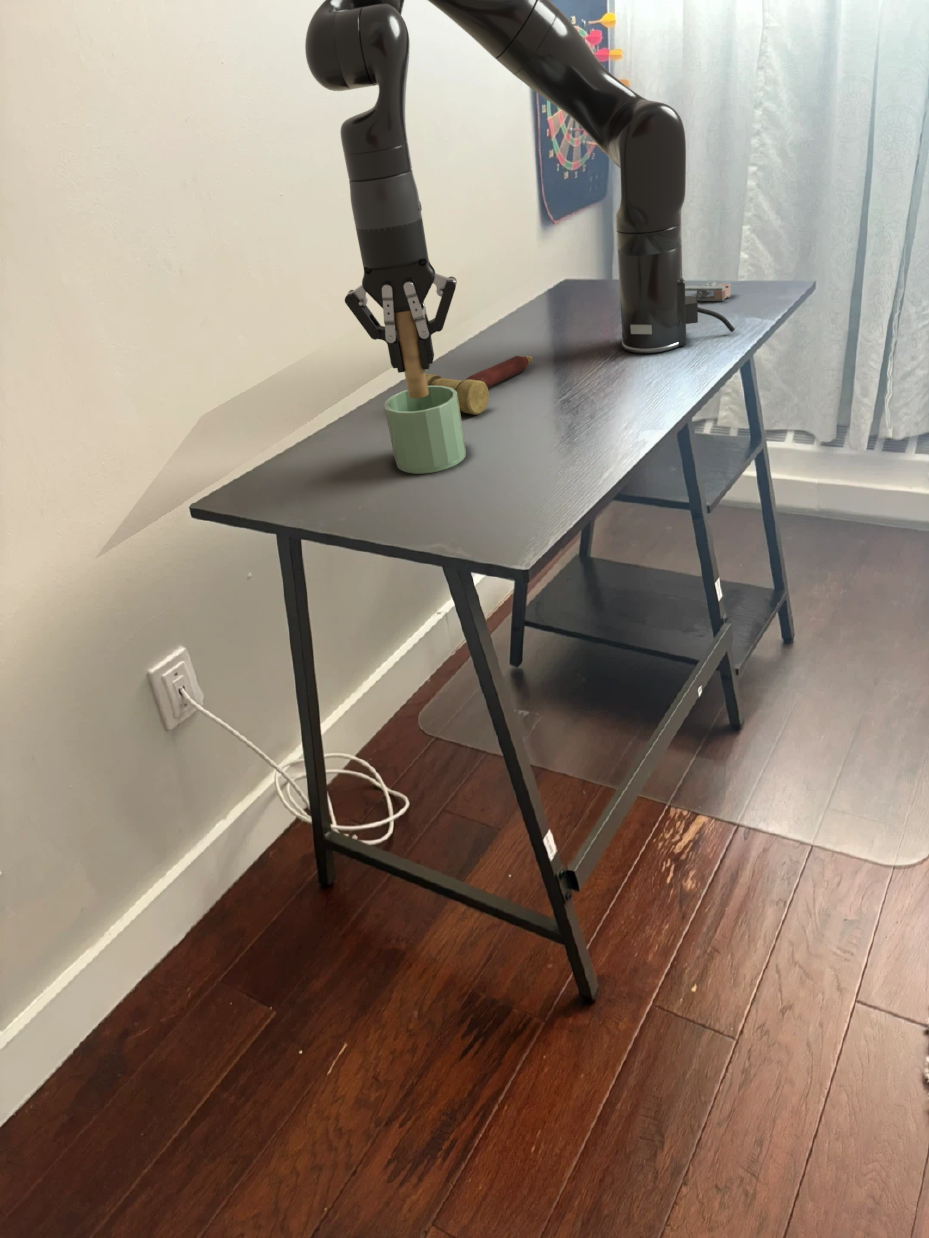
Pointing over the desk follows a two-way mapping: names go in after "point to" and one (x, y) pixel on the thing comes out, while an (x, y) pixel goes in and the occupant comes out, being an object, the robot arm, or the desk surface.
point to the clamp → (719, 290)
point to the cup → (426, 430)
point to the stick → (411, 354)
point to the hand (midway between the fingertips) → (414, 368)
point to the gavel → (480, 383)
